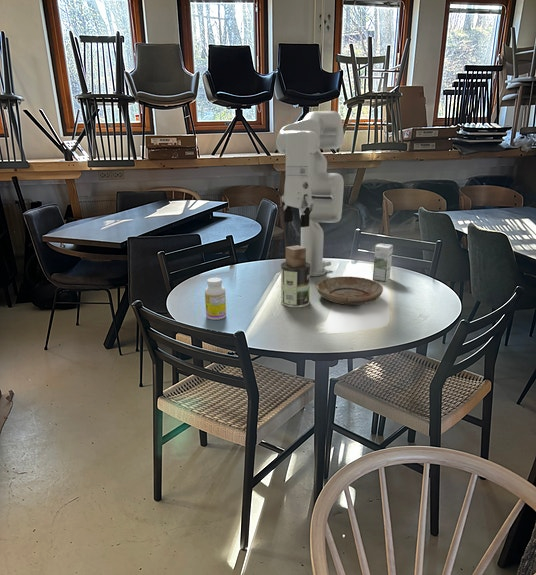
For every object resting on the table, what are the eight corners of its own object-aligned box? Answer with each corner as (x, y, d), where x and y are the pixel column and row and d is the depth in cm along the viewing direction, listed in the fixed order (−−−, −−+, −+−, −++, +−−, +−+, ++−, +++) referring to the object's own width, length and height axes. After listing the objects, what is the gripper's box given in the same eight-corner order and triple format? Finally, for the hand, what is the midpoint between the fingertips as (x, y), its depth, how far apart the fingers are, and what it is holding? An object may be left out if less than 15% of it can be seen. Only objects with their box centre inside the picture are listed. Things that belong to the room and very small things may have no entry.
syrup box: (390, 278, 180) (393, 244, 175) (385, 282, 175) (388, 247, 170) (376, 276, 183) (379, 242, 178) (372, 280, 178) (374, 245, 173)
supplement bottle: (208, 312, 146) (206, 276, 142) (227, 312, 146) (226, 276, 142) (204, 320, 140) (202, 283, 135) (225, 320, 140) (223, 283, 135)
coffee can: (308, 297, 159) (309, 260, 155) (310, 307, 150) (311, 268, 145) (280, 297, 160) (280, 260, 155) (280, 307, 150) (280, 268, 145)
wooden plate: (334, 284, 174) (335, 272, 172) (391, 295, 161) (392, 283, 159) (304, 301, 156) (305, 288, 154) (366, 316, 143) (367, 302, 141)
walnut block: (297, 261, 153) (297, 245, 151) (305, 265, 149) (306, 248, 147) (285, 263, 151) (285, 247, 149) (293, 267, 147) (293, 250, 145)
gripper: (322, 173, 135) (321, 227, 140) (292, 169, 149) (291, 219, 154) (303, 174, 131) (302, 230, 137) (273, 170, 145) (273, 221, 151)
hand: (296, 224), depth 146 cm, fingers open, 9 cm apart
